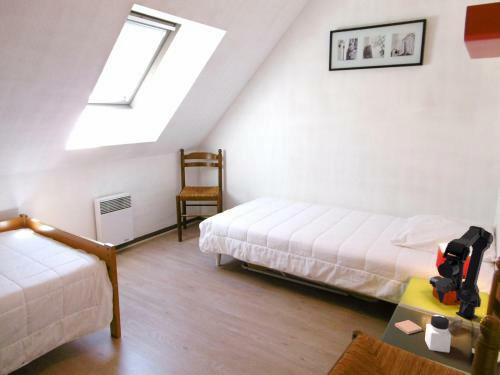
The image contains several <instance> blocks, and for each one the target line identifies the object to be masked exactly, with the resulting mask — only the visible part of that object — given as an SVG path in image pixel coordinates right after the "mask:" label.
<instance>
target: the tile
mask: <svg viewBox="0 0 500 375" xmlns="http://www.w3.org/2000/svg"><path fill="white" fill-rule="evenodd" d="M394 327H396V328H397V329H399V330H400V331H402V332H404V333H405V334H407V335H410V334H413V333H417V332H422V330H423V328H422V327H421V326H420V325H418V324H416V323H415V322H413V321H411V320H410V319H407V320H404V321H399V322H395V323H394Z"/></svg>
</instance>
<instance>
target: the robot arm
mask: <svg viewBox="0 0 500 375" xmlns="http://www.w3.org/2000/svg"><path fill="white" fill-rule="evenodd" d="M494 239H495V238H494V235H493V233H491V232H490V231H488V230H486V229H485V228H484V227H482V226H477V225H470V226H469V228H468V230H466V232H465V233H464V234H462V235H461V236H460V237H459V238H453V239H452V240H450V241H449V242H448V243H447V245H446V247H445V250H444V251H443V254H442V258H443V259H444V260H443V262H442V263H441V264H439V265H438V267H437V272H438V274H439V275H440V276H439V275H436V276H431V277H430V278H429V283H428V284H430V285H431V286H432V288H434V289H435V290H436V294H437V297H438V301H439V303H440V304H442V303H443V302H444V298H445V295H446V294H448V293H449V292H451V293H453V292H455V296H456V297H455V300H456V302H459V309H458V311H456V312H455V314H456V315H458V316H459V317H461V318H464V319H466V320H469V321H470V320H474V319H478V318H479V317H478V315H476V314H475V312H476V309H477V308H480V307H481V304H482V298H481V296H480V288H479V286H478V279H479V275H480V271H481V269H482V268H481V267H482V263H483V258H484V255H485V252H486V251H487V250H489V249H490V247H491V245H492V244H493V242H494ZM471 249H472V250H471ZM469 256H470V258H469ZM468 258H469V262H468V265H467V270H466V274H464V271H465V262H467V261H468ZM463 279H464V281H463Z"/></svg>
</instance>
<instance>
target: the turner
mask: <svg viewBox="0 0 500 375" xmlns="http://www.w3.org/2000/svg"><path fill="white" fill-rule="evenodd" d="M447 319H448V320H449V326H448V331H449V332H450V333H451V332H452V331H456V330H459V329H462V328H463V327H462V326H463V318H462V317H460V316H452V317H448V318H447Z"/></svg>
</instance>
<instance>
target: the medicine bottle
mask: <svg viewBox="0 0 500 375" xmlns="http://www.w3.org/2000/svg"><path fill="white" fill-rule="evenodd" d="M448 326H449V320H448V318H447V317H446V316H444V315H440V314H433V315H432V316H431V318H430V323H426V327H425V328H426V329H425V334H424V335H425V337H424V340H425V343H426V345H427V347H428V350H430V351H433V352H435V351H436V352H442V353H450V351H451V344H452V338H453V337H452V333H451V331H450V332H449V331H448Z"/></svg>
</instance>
